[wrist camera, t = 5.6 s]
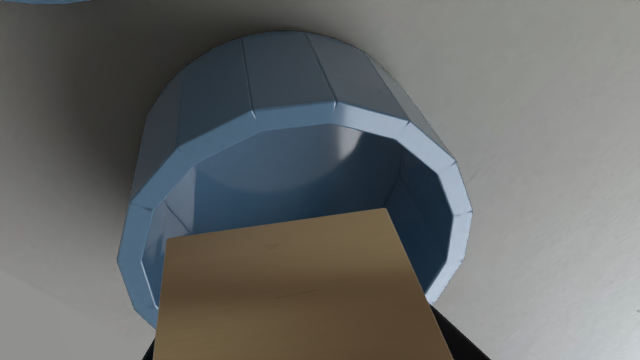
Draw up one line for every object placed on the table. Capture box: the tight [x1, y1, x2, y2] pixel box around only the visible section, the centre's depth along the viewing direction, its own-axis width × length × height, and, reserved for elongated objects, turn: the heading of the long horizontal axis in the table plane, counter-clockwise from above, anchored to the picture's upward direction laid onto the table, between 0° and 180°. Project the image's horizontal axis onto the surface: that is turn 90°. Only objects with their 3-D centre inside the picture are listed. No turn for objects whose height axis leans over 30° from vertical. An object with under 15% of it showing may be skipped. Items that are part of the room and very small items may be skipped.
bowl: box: [117, 31, 473, 329], centre depth 21 cm, size 13×13×6 cm
